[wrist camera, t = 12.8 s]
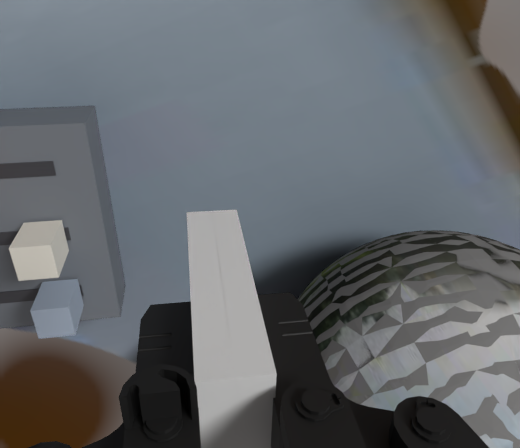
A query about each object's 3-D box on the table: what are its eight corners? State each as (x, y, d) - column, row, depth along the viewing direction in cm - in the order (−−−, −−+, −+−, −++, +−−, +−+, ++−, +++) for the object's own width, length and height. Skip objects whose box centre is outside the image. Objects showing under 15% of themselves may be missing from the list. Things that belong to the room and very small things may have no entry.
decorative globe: (422, 396, 66) (581, 678, 40) (216, 371, 57) (249, 707, 31) (543, 212, 53) (891, 449, 27) (303, 145, 45) (478, 395, 19)
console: (-105, 113, 38) (-142, 133, 33) (94, 105, 40) (84, 123, 36) (-34, 299, 47) (-55, 334, 43) (125, 285, 49) (120, 317, 45)
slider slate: (42, 281, 41) (30, 310, 38) (77, 278, 42) (68, 307, 38) (49, 308, 43) (38, 338, 39) (83, 305, 43) (75, 334, 40)
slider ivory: (23, 222, 38) (8, 248, 35) (61, 220, 39) (50, 245, 35) (32, 253, 40) (18, 280, 36) (68, 250, 40) (58, 277, 37)
